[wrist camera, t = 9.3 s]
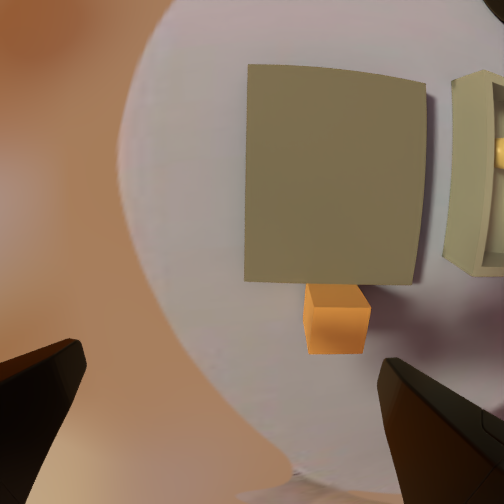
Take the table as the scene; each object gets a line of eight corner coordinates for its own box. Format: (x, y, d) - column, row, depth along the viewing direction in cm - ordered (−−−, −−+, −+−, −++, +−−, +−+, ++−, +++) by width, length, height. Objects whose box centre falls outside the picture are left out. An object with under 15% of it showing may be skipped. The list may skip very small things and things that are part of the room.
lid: (394, 313, 21) (421, 350, 16) (245, 311, 22) (238, 351, 17) (414, 88, 17) (451, 72, 12) (249, 72, 17) (242, 45, 13)
